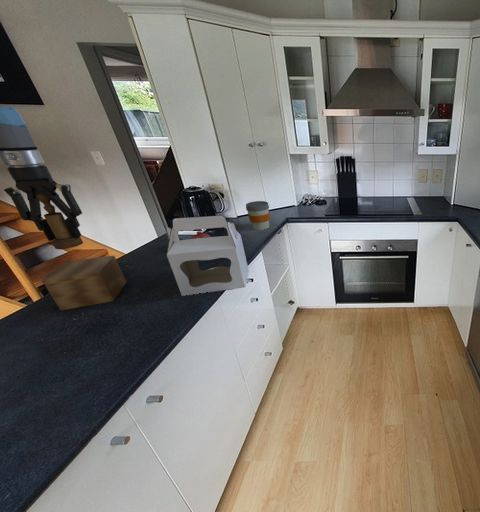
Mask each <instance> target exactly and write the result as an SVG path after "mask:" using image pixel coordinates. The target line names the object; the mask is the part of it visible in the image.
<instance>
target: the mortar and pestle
mask: <svg viewBox="0 0 480 512" xmlns="http://www.w3.org/2000/svg"><path fill="white" fill-rule="evenodd" d="M36 199H37V200H39V201H40V203H42V204H43V205H44V206H43V210H44V211H46V212H47V213H45V214H43V218H44V219H46V221H47V222H48V224H49V226H50V228H51V230H52V231H53V233H54V235H55V237H56V238H55V239H54V240H52V241H51V244H52V245H53V247H54V249H56V250H67V249H72V248H75V247H79V246H81V245H83V244H84V241H83V239H82V238H81V236H80V237H78V238H74V236H73V234H72V232H71V230H70V228H69V226H68V224H67V222H66V221H65V219H66V218H65V217H64V214H63V213H62V211H56V206H55V205H54V204H52V203H51V202H52V201H51V200H49V199H48V198H47V197H46V196H44V195H42V194H38V195H37V196H36Z"/></svg>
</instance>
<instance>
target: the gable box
mask: <svg viewBox="0 0 480 512" xmlns="http://www.w3.org/2000/svg"><path fill="white" fill-rule="evenodd" d="M219 228H220V229H222V228H224V229H226V231H227V235H223V236H210V237H209V238H197V239H191V238H187V239H181V238H180V235H179V232H183V231H194V230H206V229H207V230H208V229H219ZM166 232H167V237H168V245H167V248H166V249H167V250H166V257H167V260H168V262H169V266H170V269H171V271H172V273H173V277H174V279H175V282H176V285H177V286H178V290H179V292H180V295H181V297H186V295H187V296H193V294H194V295H200V294H199V293H201V294H207V293H206V292H208V293H215V292H222V291H229V290H237V289H242V288H243V289H244V288H246V286H247V283H248V282H247V281H248V277H249V272H250V271H249V266H248V262H247V258H246V253H245V248H244V243H243V240H242V239H243V238H242V235H241V234H240V232H239V231H238V230H237V229H236V225H235V223H234V222H229V221H227V219H226V216H224V215H222V214H220V215H207V216H193V217H192V216H191V217H176V218H173V219H172V227H166ZM222 258H223V259H228V260H230V266H225V265H223V266H222V265H221V266H215V267H212V268H208V269H201V268H200V266H199V265H200V264H199V262H198V261H212V260H217V259H222Z"/></svg>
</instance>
